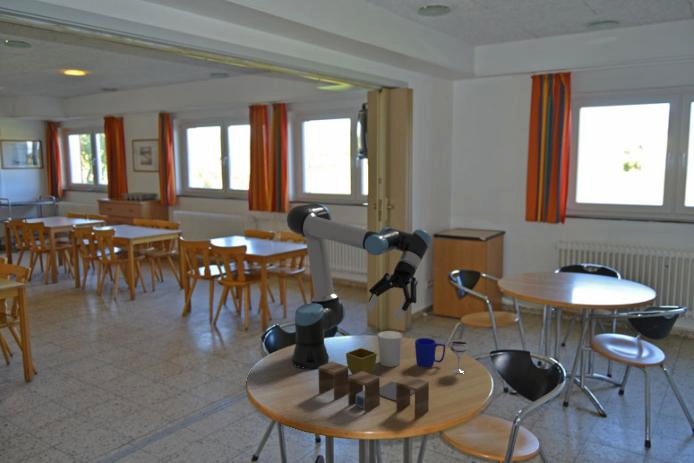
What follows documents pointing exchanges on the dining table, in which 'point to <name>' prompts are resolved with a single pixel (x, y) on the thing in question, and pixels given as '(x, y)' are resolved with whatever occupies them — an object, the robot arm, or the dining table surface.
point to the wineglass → (459, 350)
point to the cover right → (420, 394)
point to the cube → (360, 399)
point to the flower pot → (361, 360)
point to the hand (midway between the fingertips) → (382, 314)
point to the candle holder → (390, 348)
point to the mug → (426, 352)
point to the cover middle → (371, 389)
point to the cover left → (333, 379)
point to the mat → (390, 391)
